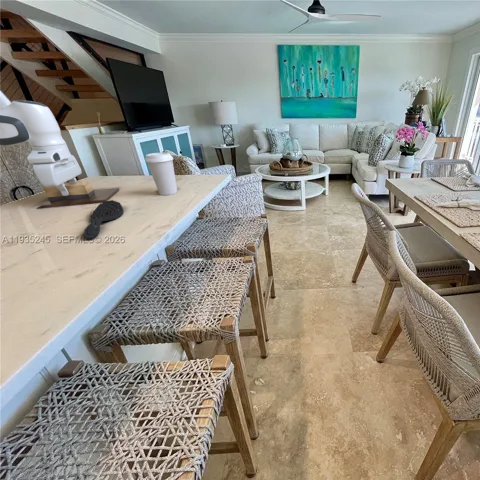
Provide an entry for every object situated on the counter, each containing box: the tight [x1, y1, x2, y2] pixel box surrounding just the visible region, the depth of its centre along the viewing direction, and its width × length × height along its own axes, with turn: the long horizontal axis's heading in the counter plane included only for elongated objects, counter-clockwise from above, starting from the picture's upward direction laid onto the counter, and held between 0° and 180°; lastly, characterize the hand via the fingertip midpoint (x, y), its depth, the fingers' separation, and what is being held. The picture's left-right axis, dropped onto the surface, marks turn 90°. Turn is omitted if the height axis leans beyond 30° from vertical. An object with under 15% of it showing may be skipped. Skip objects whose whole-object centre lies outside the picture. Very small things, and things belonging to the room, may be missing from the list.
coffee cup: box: [144, 152, 178, 196], centre depth 103 cm, size 10×10×15 cm
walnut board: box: [36, 187, 120, 209], centre depth 100 cm, size 20×16×1 cm
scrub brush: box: [42, 180, 95, 201], centre depth 97 cm, size 12×5×5 cm, turn 109°
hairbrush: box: [83, 199, 124, 241], centre depth 79 cm, size 8×4×25 cm
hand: (70, 192), depth 97 cm, fingers closed on scrub brush, 5 cm apart
